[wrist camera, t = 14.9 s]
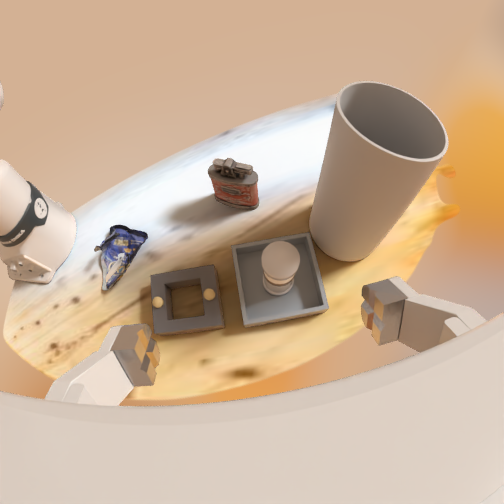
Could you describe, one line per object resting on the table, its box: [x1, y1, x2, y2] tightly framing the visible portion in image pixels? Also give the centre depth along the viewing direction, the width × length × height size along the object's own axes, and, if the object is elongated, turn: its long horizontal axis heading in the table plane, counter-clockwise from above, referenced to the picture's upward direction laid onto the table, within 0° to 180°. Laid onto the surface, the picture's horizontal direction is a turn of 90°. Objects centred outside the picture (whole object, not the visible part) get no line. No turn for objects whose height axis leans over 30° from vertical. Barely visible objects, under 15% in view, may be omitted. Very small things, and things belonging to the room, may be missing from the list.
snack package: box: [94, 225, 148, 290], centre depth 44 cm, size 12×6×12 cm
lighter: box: [208, 158, 259, 210], centre depth 45 cm, size 8×3×10 cm, turn 71°
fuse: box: [262, 241, 300, 296], centre depth 38 cm, size 5×5×10 cm
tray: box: [231, 232, 329, 328], centre depth 42 cm, size 12×12×3 cm
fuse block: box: [151, 265, 225, 336], centre depth 41 cm, size 10×9×4 cm
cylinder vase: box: [309, 81, 448, 261], centre depth 35 cm, size 12×12×25 cm
